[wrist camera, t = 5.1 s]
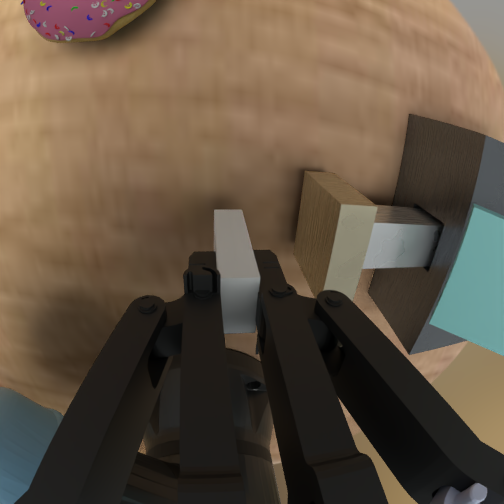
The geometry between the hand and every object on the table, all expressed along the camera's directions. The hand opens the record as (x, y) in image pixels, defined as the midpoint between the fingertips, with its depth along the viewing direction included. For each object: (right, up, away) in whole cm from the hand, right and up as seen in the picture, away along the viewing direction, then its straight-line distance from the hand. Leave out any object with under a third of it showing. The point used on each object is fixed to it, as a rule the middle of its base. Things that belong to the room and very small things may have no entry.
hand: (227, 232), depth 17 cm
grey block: (+17, +2, +6) cm, 19 cm away
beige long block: (+12, +1, +4) cm, 13 cm away
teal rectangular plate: (+17, -4, -4) cm, 18 cm away
